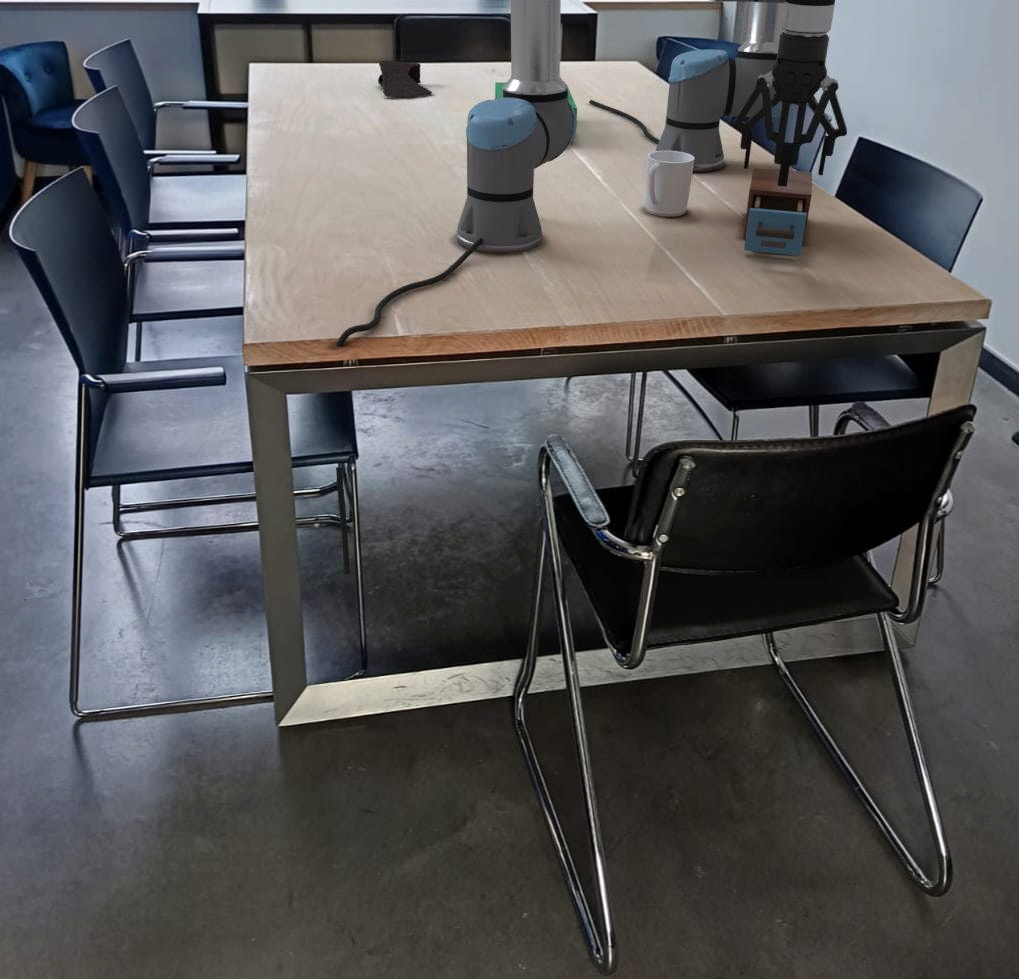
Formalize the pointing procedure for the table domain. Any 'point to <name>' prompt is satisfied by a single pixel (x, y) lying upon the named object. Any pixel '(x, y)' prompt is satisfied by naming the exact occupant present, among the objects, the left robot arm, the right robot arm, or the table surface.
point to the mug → (668, 182)
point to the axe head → (401, 79)
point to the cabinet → (780, 189)
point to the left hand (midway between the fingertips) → (782, 183)
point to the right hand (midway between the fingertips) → (783, 170)
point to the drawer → (776, 225)
